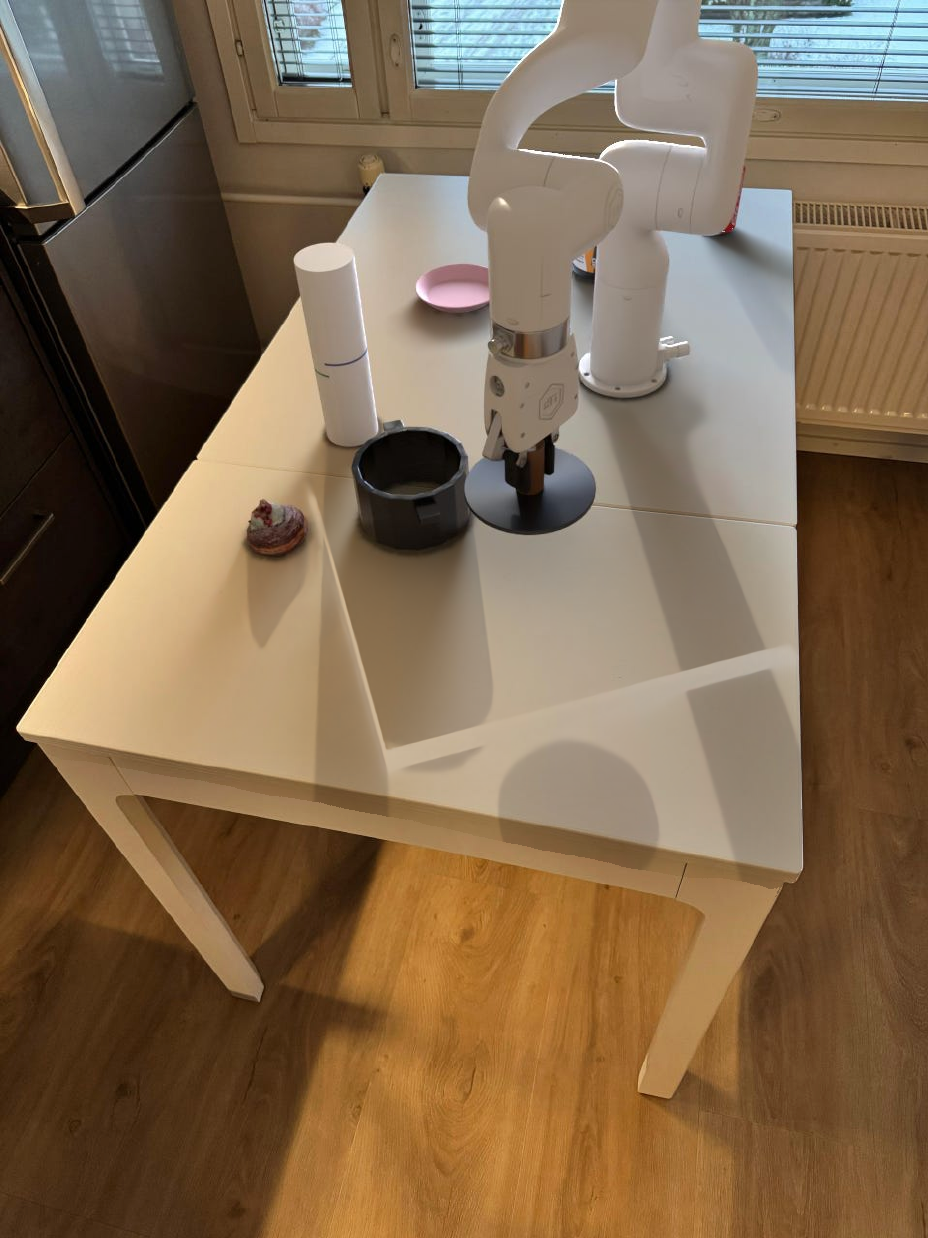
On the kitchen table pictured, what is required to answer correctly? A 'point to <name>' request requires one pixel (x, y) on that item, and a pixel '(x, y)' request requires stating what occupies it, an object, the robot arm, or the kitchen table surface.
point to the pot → (407, 460)
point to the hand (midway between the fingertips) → (529, 476)
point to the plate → (455, 287)
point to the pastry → (276, 528)
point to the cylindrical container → (337, 341)
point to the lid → (531, 494)
